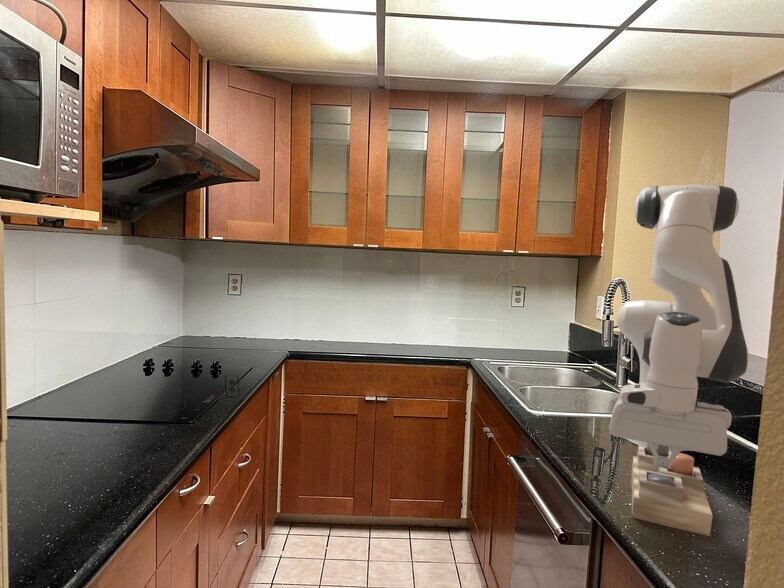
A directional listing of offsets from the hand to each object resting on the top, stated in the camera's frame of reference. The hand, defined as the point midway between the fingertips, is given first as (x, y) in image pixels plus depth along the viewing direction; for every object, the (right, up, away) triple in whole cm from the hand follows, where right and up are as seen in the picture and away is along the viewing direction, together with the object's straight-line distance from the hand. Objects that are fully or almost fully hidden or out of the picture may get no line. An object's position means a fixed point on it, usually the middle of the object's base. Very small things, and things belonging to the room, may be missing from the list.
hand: (662, 466), depth 105 cm
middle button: (+7, -3, +6) cm, 9 cm away
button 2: (-1, -5, 0) cm, 5 cm away
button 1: (+6, -2, +14) cm, 16 cm away
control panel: (+4, -9, +7) cm, 12 cm away
